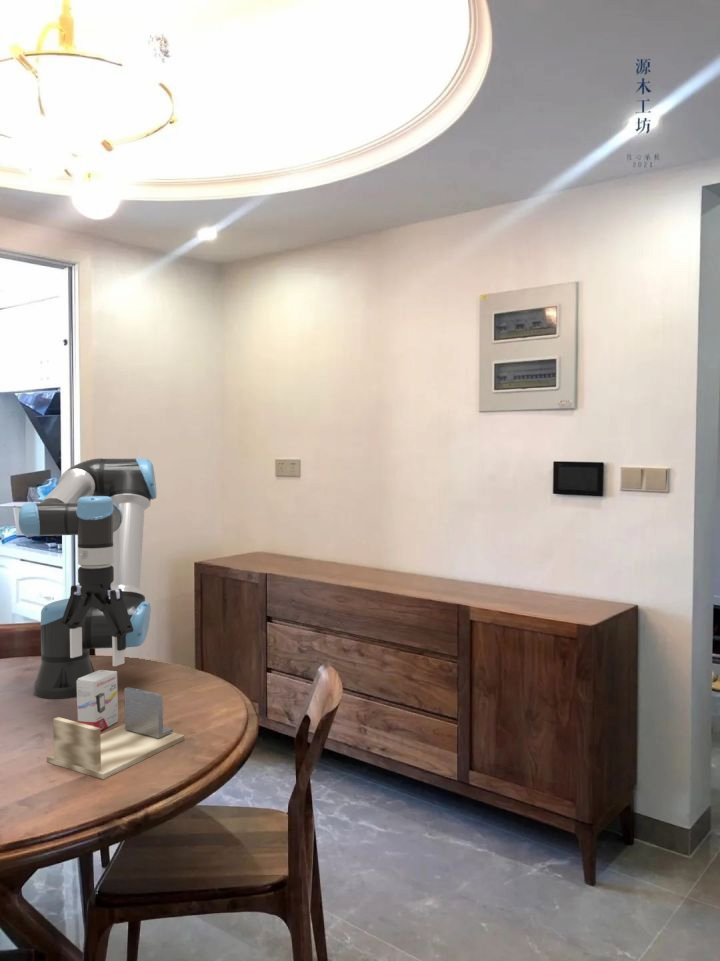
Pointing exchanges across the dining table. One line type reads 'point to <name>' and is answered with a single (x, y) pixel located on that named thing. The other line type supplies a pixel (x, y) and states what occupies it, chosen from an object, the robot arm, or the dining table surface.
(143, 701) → the bookend
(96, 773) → the rack
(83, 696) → the ink box
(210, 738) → the dining table surface
